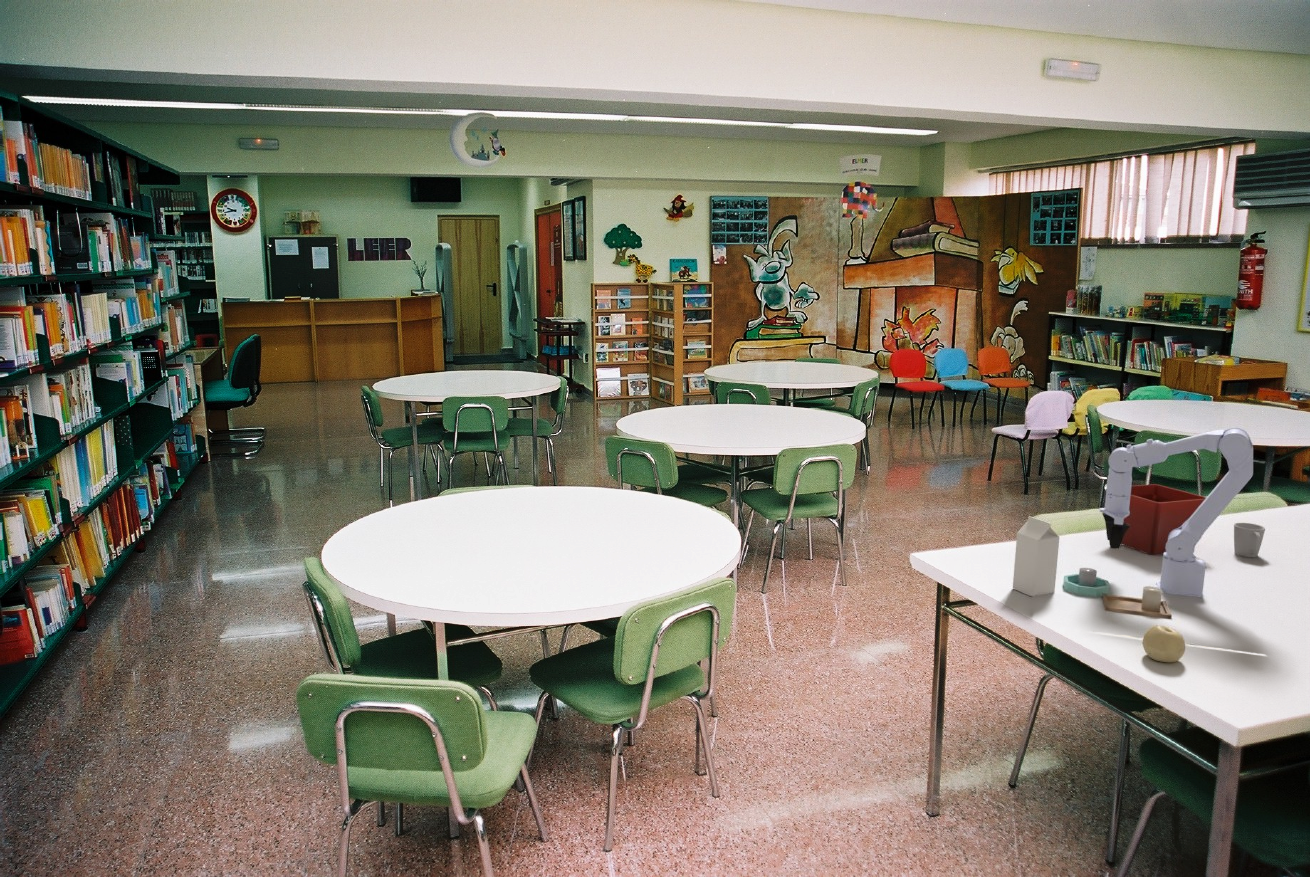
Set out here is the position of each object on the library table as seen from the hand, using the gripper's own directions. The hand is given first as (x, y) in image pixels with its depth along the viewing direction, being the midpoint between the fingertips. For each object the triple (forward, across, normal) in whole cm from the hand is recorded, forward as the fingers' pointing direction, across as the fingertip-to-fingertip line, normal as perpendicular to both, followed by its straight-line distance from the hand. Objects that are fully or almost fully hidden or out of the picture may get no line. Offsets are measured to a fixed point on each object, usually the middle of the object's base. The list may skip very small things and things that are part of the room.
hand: (1113, 544), depth 244 cm
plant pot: (+10, -36, +14) cm, 40 cm away
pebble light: (+9, +21, +7) cm, 24 cm away
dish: (+10, +11, -6) cm, 16 cm away
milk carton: (+10, +17, -19) cm, 27 cm away
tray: (+10, +21, +4) cm, 23 cm away
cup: (+10, -38, +39) cm, 55 cm away
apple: (+10, +51, +6) cm, 52 cm away
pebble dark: (+9, +11, -6) cm, 16 cm away
